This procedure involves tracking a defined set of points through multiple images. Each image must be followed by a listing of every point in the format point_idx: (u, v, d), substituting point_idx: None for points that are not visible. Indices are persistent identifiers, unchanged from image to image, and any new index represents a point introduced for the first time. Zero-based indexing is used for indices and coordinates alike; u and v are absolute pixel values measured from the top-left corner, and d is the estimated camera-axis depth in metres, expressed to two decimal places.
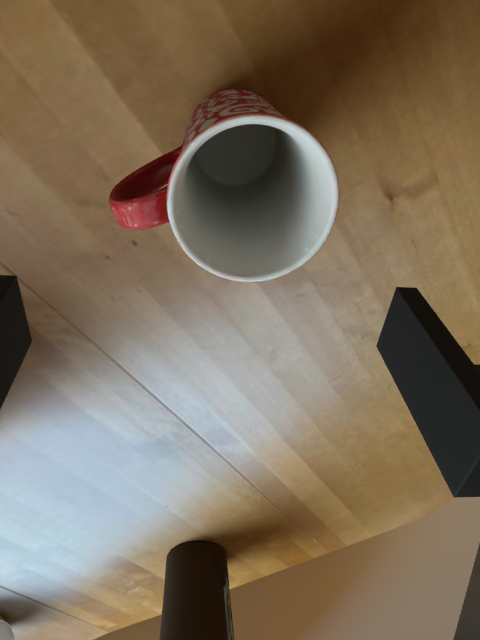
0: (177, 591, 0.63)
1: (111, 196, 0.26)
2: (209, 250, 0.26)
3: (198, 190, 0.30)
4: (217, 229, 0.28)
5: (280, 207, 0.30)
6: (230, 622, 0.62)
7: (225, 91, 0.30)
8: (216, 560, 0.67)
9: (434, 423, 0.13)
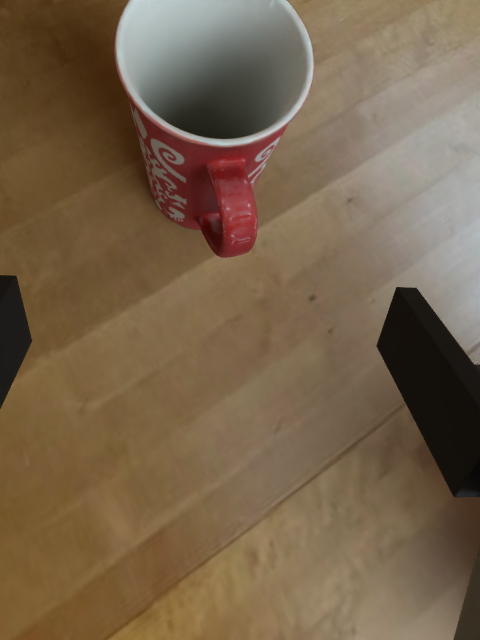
0: None
1: (222, 244, 0.22)
2: None
3: None
4: None
5: (247, 91, 0.27)
6: None
7: (148, 181, 0.31)
8: None
9: (434, 424, 0.13)
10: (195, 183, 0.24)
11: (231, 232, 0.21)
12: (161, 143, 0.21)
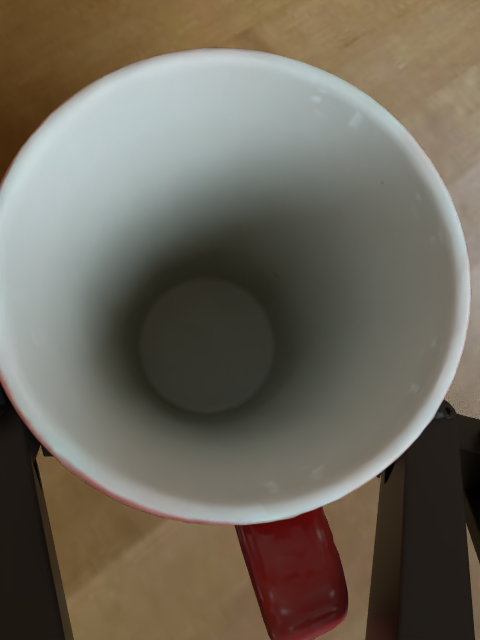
0: None
1: None
2: (384, 384, 0.09)
3: (271, 406, 0.16)
4: (337, 365, 0.12)
5: (286, 239, 0.15)
6: None
7: None
8: None
9: None
10: None
11: None
12: None
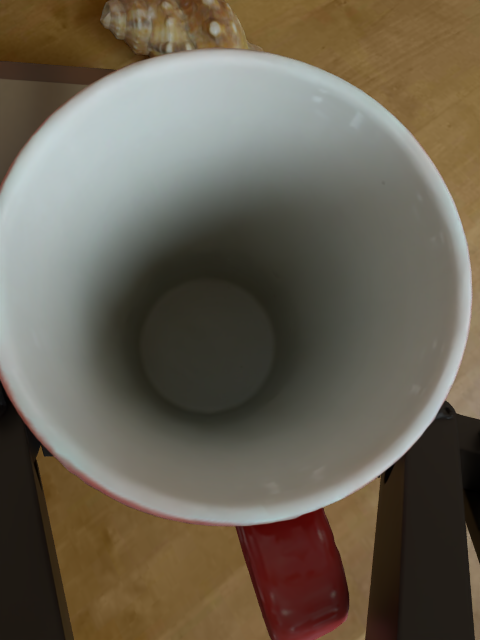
0: None
1: None
2: (385, 385, 0.09)
3: (272, 407, 0.16)
4: (338, 365, 0.12)
5: (286, 240, 0.15)
6: None
7: None
8: None
9: None
10: None
11: None
12: None
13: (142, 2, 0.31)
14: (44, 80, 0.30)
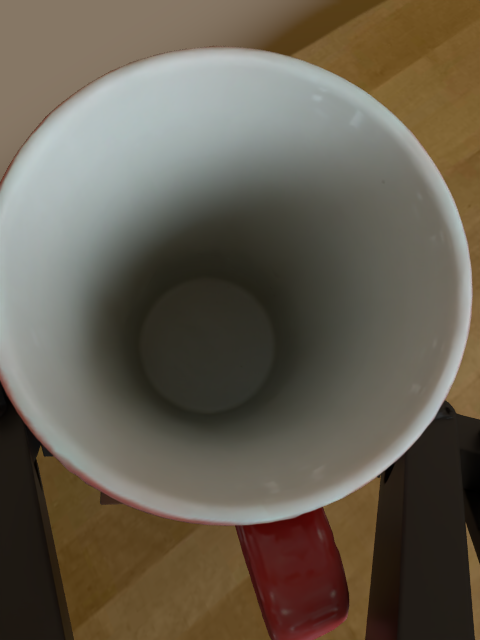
0: None
1: None
2: (385, 384, 0.09)
3: (272, 406, 0.16)
4: (338, 365, 0.12)
5: (286, 239, 0.15)
6: None
7: None
8: None
9: None
10: None
11: None
12: None
13: None
14: None
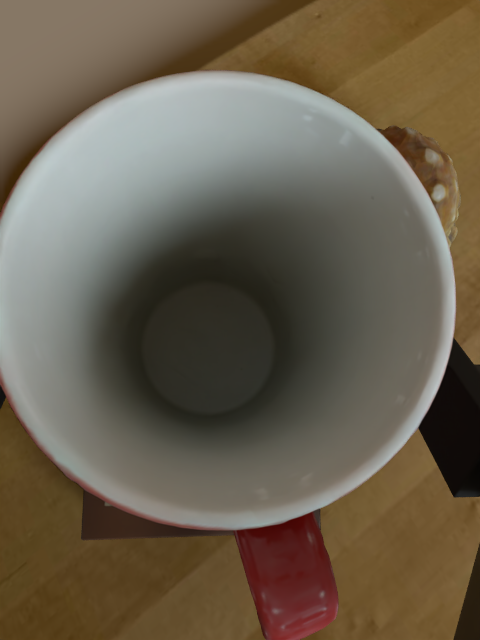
0: None
1: None
2: (373, 394, 0.10)
3: (269, 410, 0.16)
4: (331, 372, 0.13)
5: (283, 247, 0.15)
6: None
7: None
8: None
9: (434, 424, 0.13)
10: None
11: None
12: None
13: None
14: None
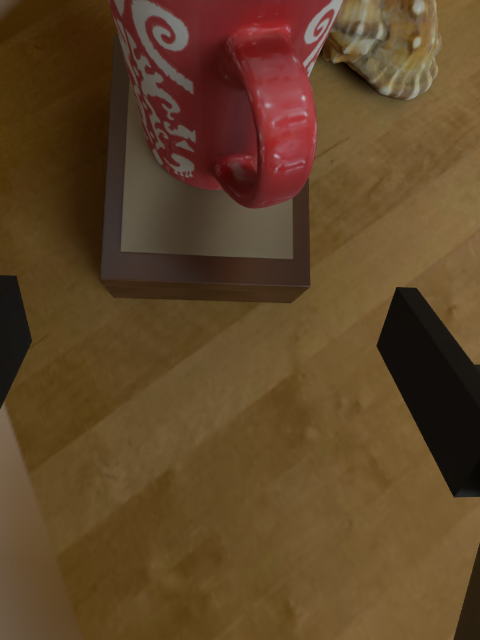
0: None
1: (258, 175, 0.13)
2: None
3: None
4: None
5: None
6: None
7: None
8: None
9: (434, 423, 0.13)
10: (208, 91, 0.15)
11: (274, 149, 0.13)
12: (148, 4, 0.12)
13: None
14: None
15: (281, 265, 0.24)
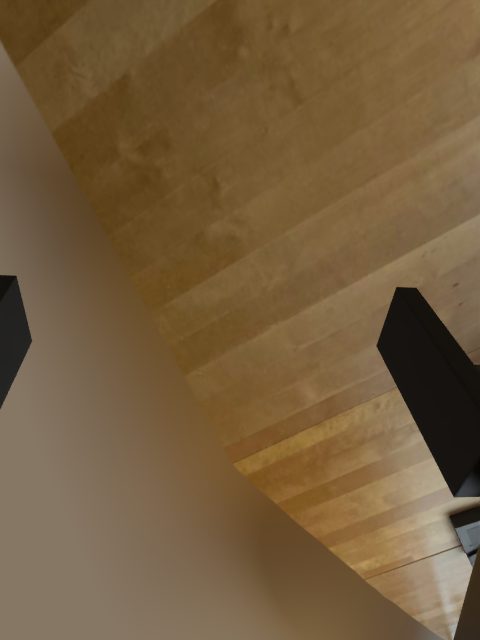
0: None
1: None
2: None
3: None
4: None
5: None
6: None
7: None
8: None
9: (434, 423, 0.13)
10: None
11: None
12: None
13: None
14: None
15: None
